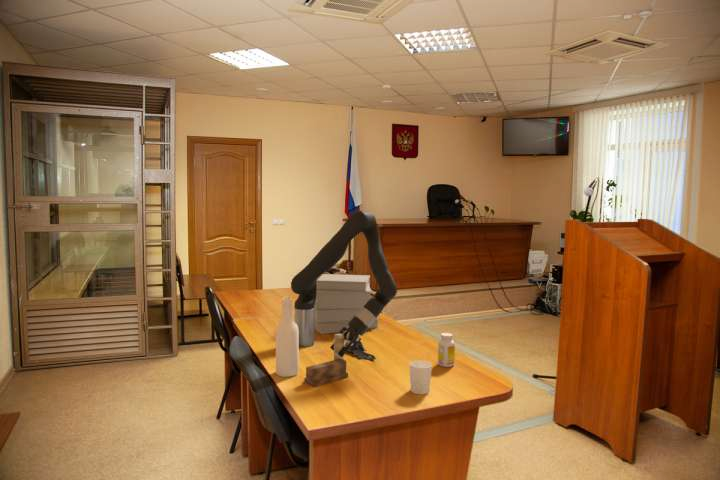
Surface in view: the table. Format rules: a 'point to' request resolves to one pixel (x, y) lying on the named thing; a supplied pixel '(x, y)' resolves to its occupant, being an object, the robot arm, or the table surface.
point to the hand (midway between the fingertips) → (335, 352)
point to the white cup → (420, 377)
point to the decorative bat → (361, 352)
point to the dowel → (338, 345)
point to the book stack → (340, 301)
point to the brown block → (326, 372)
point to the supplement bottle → (446, 350)
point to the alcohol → (287, 342)
